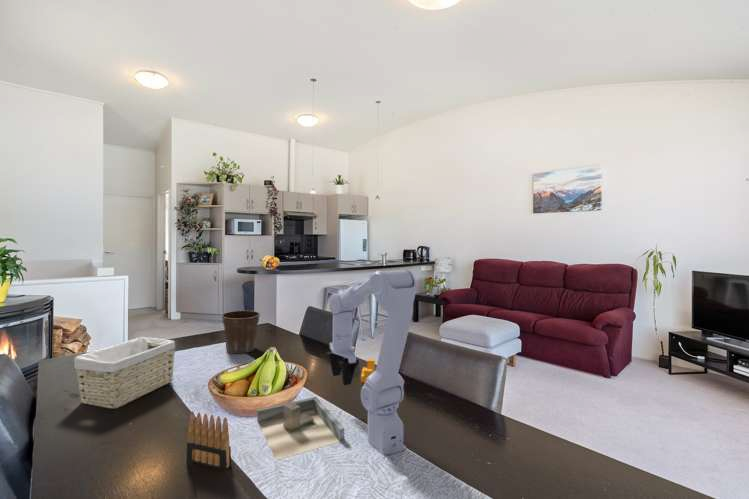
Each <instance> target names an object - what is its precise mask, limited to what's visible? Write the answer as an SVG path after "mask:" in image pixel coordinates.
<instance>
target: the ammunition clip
mask: <svg viewBox="0 0 749 499" xmlns="http://www.w3.org/2000/svg"><path fill="white" fill-rule="evenodd" d="M201 415H202V414H201V412H198V413H197V415H195V412H194V411H193V410H192V411H191V412H190V416H189V425H188V427H189V428H188V437H187V438H188V442H186V464H188V465H187V466H190V465H192V466H191V467H194V464H197V465H202V466H207V467H211V468H215V469H219V470H222V471H227V470H228V468H229V467H231V466H232V449H231V446H230V434H229V422H228V419H227V417H226V416H225V417H224V418H223V420H222V421H221V417H220V416H219V415H218V416H217V418H216V421H215V417H214V415H213V414H211V415H210V418H209V417H208V414H207V413H204V415H203V418H202V416H201Z"/></svg>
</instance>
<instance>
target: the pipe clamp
mask: <svg viewBox="0 0 749 499" xmlns="http://www.w3.org/2000/svg"><path fill="white" fill-rule="evenodd" d="M366 361H367V362H366V363H367V364H366V367H365V366H363V367H362V369H361V374H360V383H363V386H364V385H365V382H366V379H367V378H368V377H369V376H370V375H371V374H372V373H373V372H374V371H375V370H376V366H375V365H376V359H374V358H368V359H367V360H366Z"/></svg>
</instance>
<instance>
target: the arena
mask: <svg viewBox="0 0 749 499" xmlns="http://www.w3.org/2000/svg"><path fill="white" fill-rule="evenodd" d="M290 402H291V401H290ZM290 402H284V403H281V404H276V405H271V406H266V407H263V408H262V407H261V408H258V409H257V410H256V411H257V413H256V416H257V418H256V420H257V422H256V423H257V424H258V426H259V428H260V430H261V432H262V434H263V436H264V438H265V440H266V443H267V444H268V447H269V448H270V450H271V453H272V455H273V457H274V458H275V461H278V460H282V459H285V458H289V457H292V456H295V455H299V454H303V453H306V452H310V451H314V450H317V449H320V448H324V447H327V446H331V445H334V444H337V443H342V442H344V441H345V427H344V426H343V425H342V424H341V423H340V422H339V420H338V419H337V418H336V417H335V416H334V415H333V414H332V413H331V411H330V410H328V408H327V407H326V406H325V405H324V404H323V403H322V401H320V400H319V398H318V397H317V396H313V397H309V398H305V399H300V400H294V401H292V402H293V403H295V404H296V405H298V406H300V415H302V414H307V415H309V416H310V417H312V418H314V423H312V424H310V425H308V426H305V427H303V428H301V429H299V430H297V431H295V432H290V431H289V430H287V429H286V428H284V427H283V405H284V404H287V403H290Z"/></svg>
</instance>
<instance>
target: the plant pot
mask: <svg viewBox="0 0 749 499" xmlns="http://www.w3.org/2000/svg"><path fill="white" fill-rule="evenodd" d="M260 316H261V313H260V312H259V311H255V310H233V311H229V312H225V313H222V314H221V318H222V323H223V328H224V336H225V337H224V340H225V350H226V352H227V353H228V354H236V353H237V354H247V353H250V352H253V351H255V349H256V342H257V331H258V324H259V320H260Z"/></svg>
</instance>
